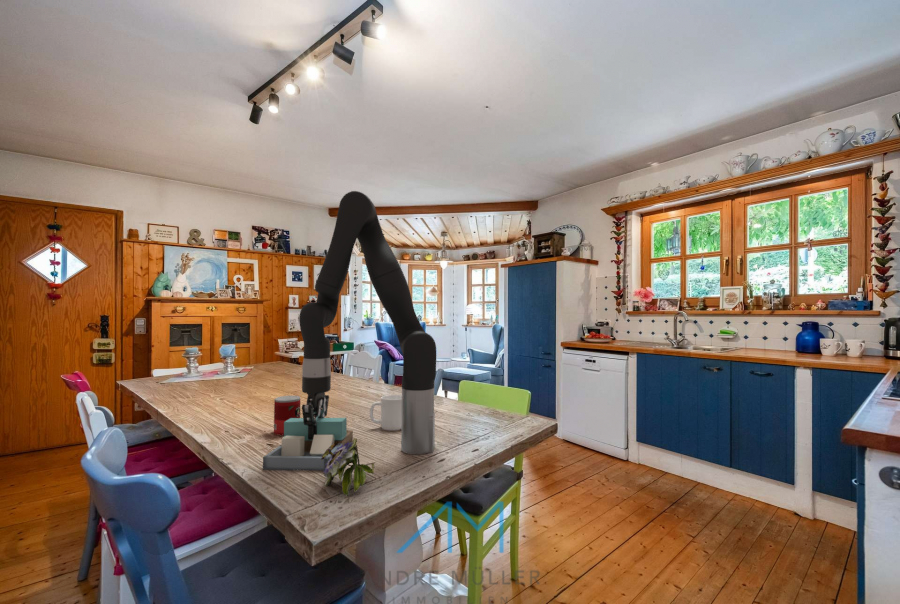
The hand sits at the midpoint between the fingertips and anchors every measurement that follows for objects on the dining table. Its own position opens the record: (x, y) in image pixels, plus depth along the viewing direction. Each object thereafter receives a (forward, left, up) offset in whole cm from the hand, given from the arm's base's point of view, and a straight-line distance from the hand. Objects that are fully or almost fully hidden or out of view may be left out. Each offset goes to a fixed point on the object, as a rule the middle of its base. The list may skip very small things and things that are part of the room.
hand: (315, 436), depth 106 cm
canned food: (+16, -17, -4) cm, 24 cm away
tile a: (-4, +4, -2) cm, 6 cm away
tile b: (+4, +4, -1) cm, 6 cm away
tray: (0, +7, -4) cm, 8 cm away
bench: (0, -3, -4) cm, 5 cm away
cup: (-15, -24, -4) cm, 29 cm away
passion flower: (-15, +20, -5) cm, 25 cm away
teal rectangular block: (0, 0, -1) cm, 1 cm away
